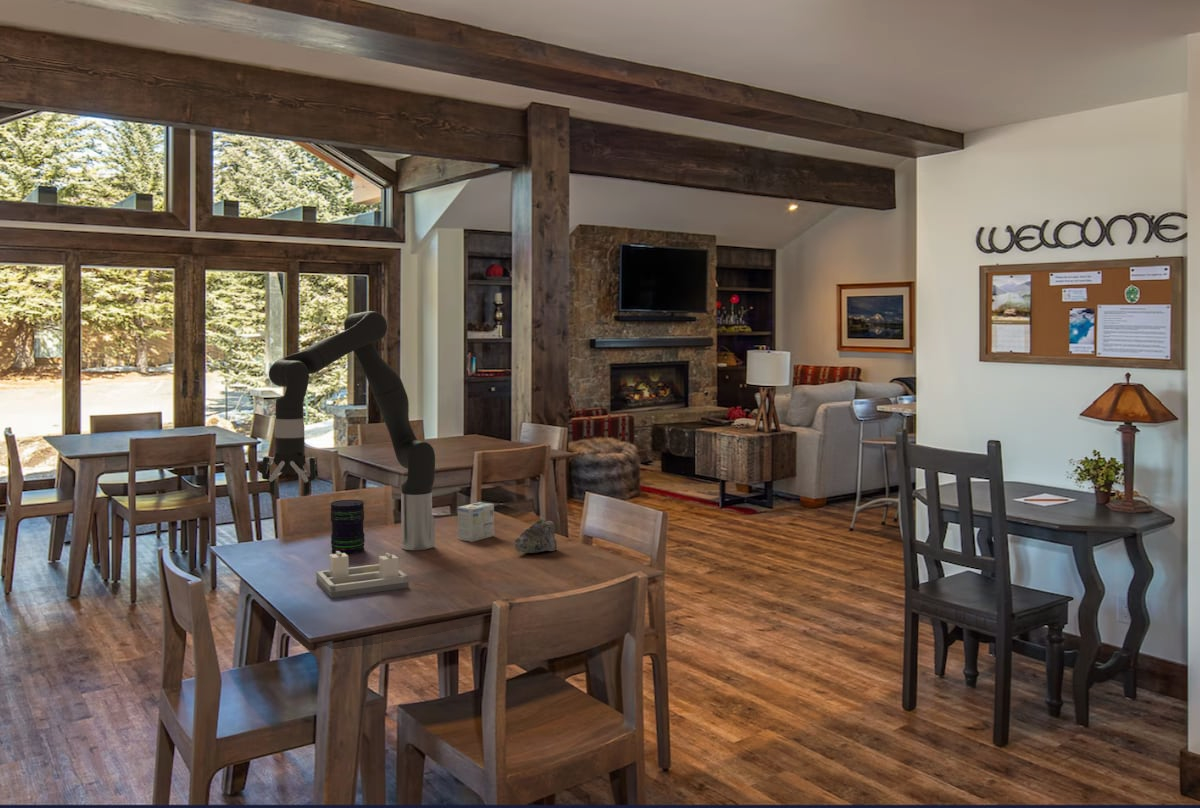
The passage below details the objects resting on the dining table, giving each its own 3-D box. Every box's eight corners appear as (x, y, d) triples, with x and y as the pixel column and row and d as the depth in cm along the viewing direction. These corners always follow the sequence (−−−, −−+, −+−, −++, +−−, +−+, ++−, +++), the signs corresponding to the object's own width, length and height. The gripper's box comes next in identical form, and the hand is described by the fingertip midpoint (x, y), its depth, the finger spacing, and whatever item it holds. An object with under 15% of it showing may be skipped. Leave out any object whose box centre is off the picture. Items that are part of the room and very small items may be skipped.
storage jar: (324, 553, 278) (323, 504, 277) (344, 546, 287) (343, 498, 286) (351, 556, 274) (350, 506, 273) (371, 549, 283) (370, 501, 282)
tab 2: (394, 576, 246) (393, 551, 246) (398, 580, 243) (398, 554, 242) (379, 578, 244) (378, 553, 244) (383, 582, 241) (383, 556, 240)
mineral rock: (514, 556, 276) (514, 523, 275) (514, 548, 286) (514, 516, 286) (558, 555, 277) (558, 522, 276) (555, 547, 288) (555, 515, 287)
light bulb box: (479, 533, 306) (479, 501, 305) (495, 536, 302) (495, 503, 301) (456, 539, 298) (456, 506, 297) (472, 542, 294) (472, 508, 293)
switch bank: (390, 573, 256) (390, 562, 256) (408, 587, 242) (408, 576, 242) (316, 582, 246) (316, 571, 246) (330, 598, 233) (330, 586, 232)
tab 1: (344, 574, 248) (344, 549, 247) (348, 578, 245) (348, 553, 244) (329, 576, 246) (329, 551, 246) (333, 580, 243) (332, 554, 242)
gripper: (320, 434, 251) (321, 493, 252) (268, 433, 251) (269, 492, 252) (311, 437, 243) (312, 498, 245) (257, 436, 244) (258, 497, 245)
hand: (290, 495), depth 248 cm, fingers open, 8 cm apart
